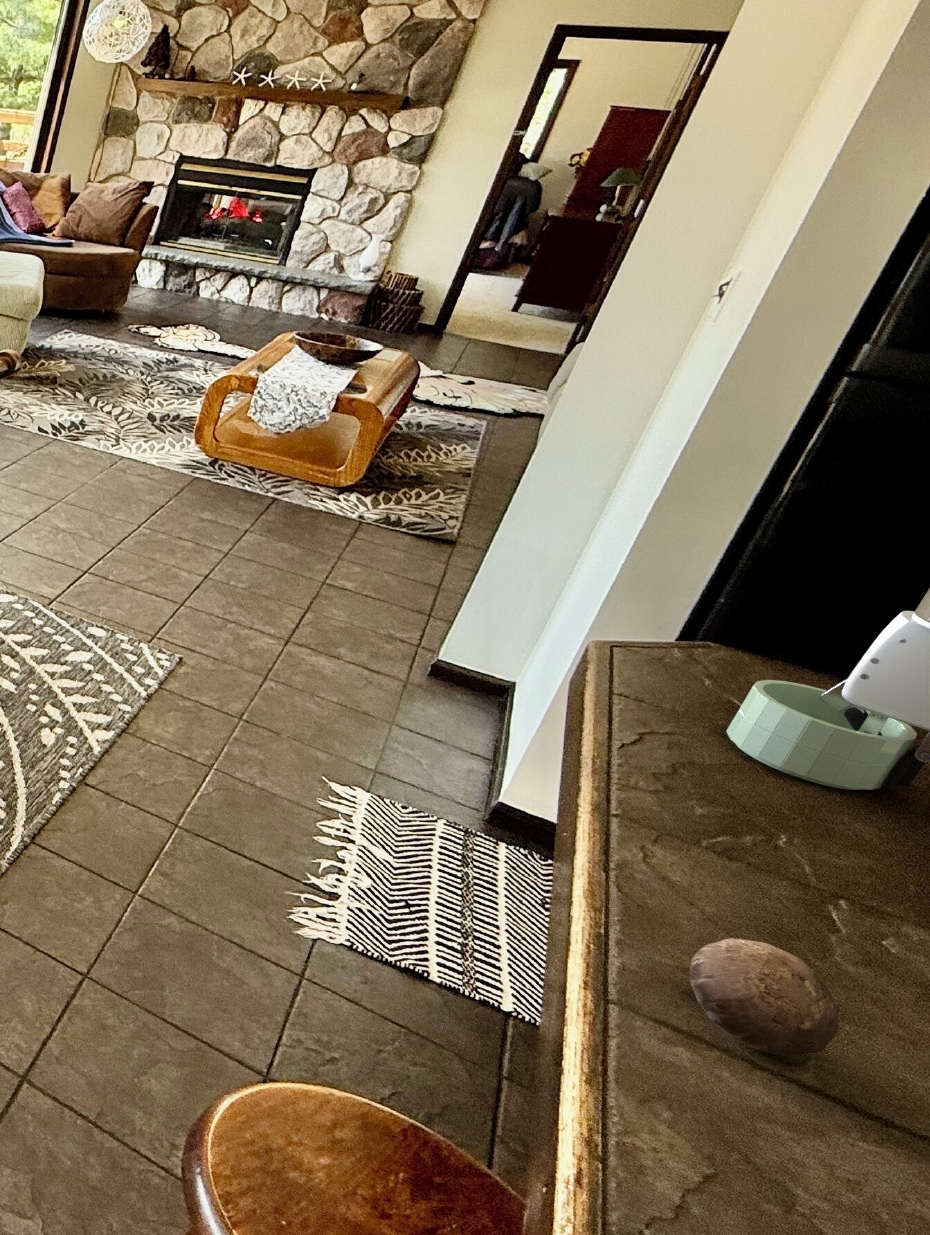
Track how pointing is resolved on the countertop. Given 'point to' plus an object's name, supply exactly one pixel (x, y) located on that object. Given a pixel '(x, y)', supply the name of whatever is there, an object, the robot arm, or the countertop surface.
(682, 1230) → the countertop surface
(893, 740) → the bowl
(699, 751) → the countertop surface
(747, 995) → the mushroom
